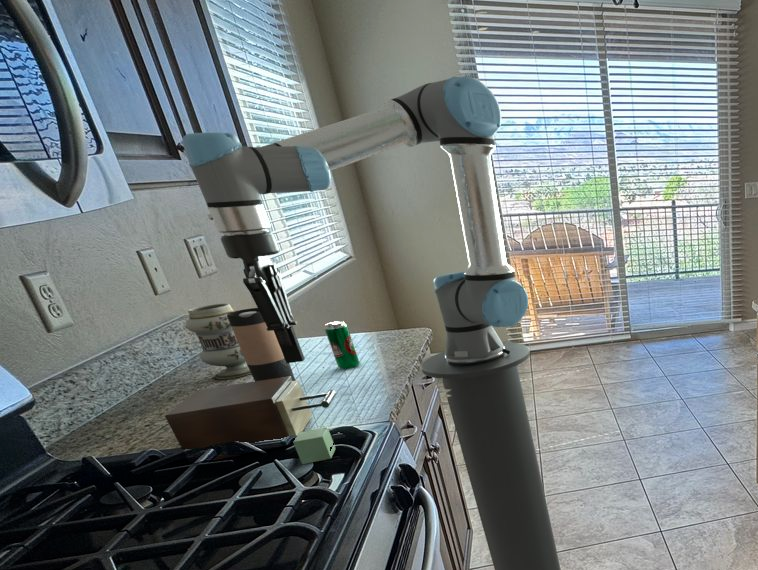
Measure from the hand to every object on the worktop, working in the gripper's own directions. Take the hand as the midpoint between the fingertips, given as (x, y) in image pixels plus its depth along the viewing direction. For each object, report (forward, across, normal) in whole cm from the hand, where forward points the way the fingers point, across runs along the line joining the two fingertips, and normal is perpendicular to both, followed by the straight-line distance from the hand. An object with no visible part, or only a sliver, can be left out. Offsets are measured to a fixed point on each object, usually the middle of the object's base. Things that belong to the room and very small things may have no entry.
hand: (295, 361), depth 108 cm
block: (+14, +15, +2) cm, 21 cm away
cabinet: (+14, 0, -12) cm, 18 cm away
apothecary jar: (+15, -56, -30) cm, 65 cm away
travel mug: (+15, -29, -14) cm, 35 cm away
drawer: (+13, 0, -7) cm, 15 cm away
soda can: (+15, -45, -2) cm, 47 cm away
